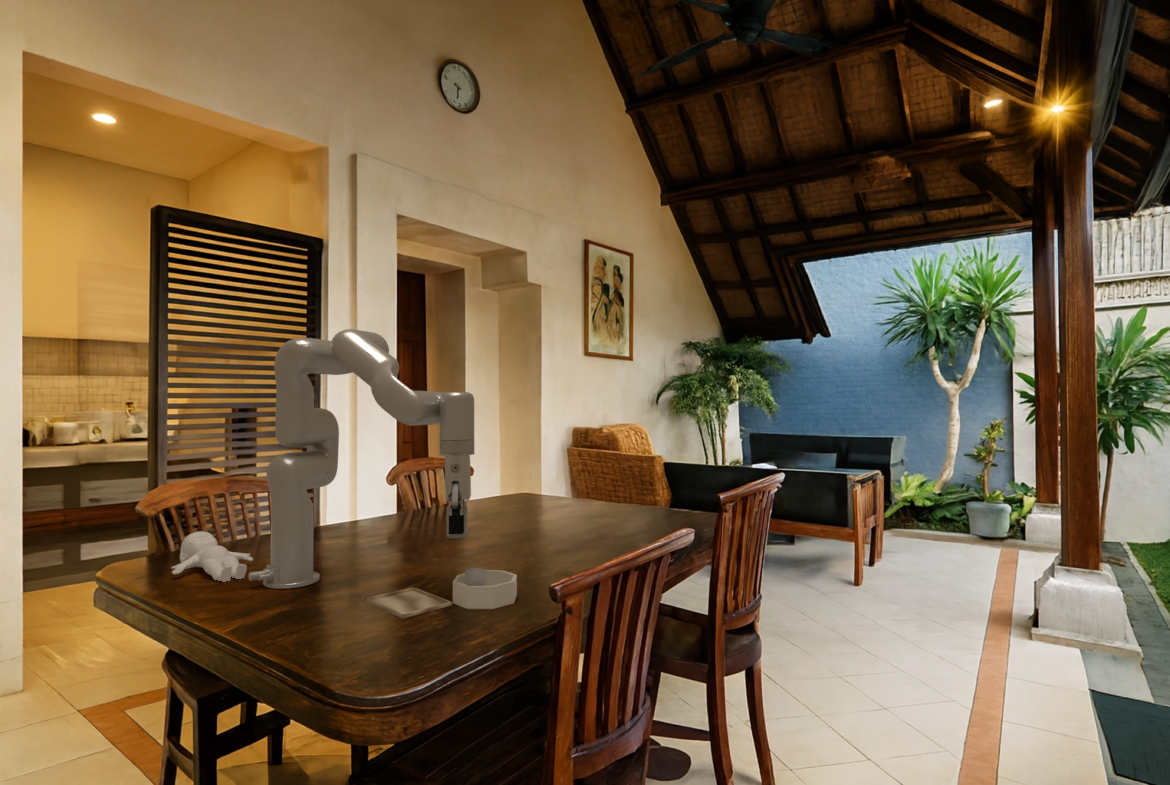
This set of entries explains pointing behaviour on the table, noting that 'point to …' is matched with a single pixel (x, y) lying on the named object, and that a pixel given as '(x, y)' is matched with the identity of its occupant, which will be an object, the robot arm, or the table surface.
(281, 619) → the table surface
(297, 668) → the table surface
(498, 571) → the bowl
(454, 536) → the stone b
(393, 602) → the tray
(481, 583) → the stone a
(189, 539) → the doll
